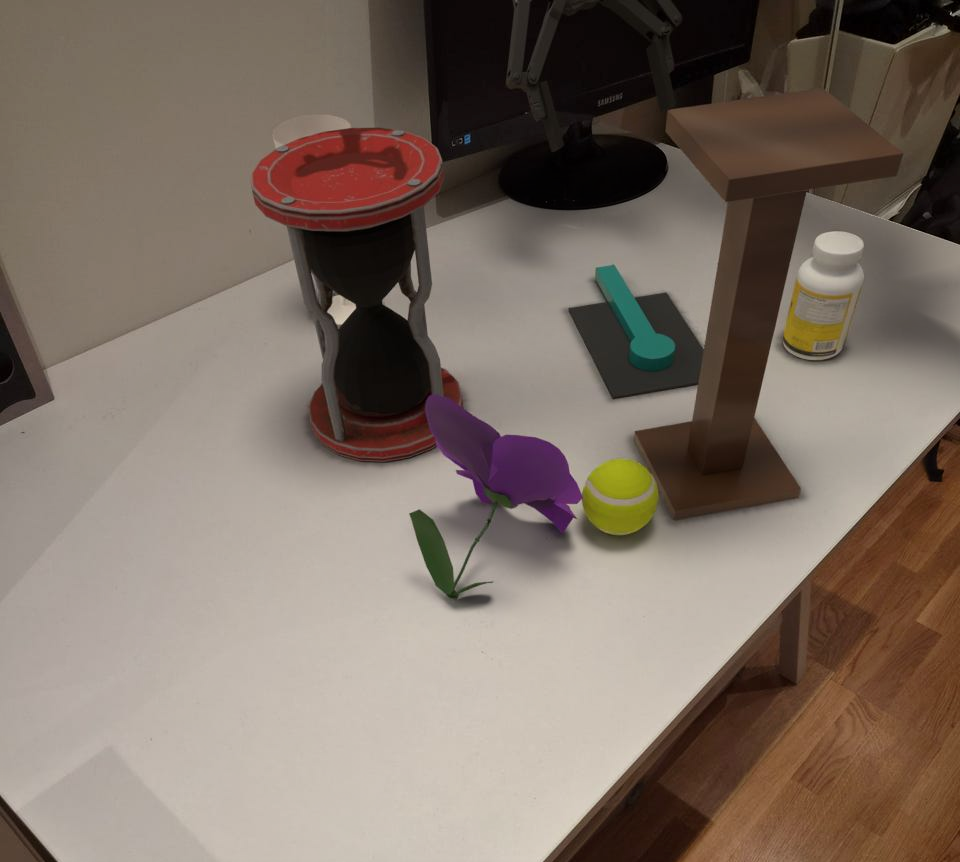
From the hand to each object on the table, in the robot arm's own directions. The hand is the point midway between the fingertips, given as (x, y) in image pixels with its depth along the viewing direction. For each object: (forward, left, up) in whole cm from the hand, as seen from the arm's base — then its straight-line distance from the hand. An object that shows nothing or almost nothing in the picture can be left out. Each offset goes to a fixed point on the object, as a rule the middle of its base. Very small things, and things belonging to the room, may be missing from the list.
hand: (613, 129), depth 98 cm
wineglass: (+28, +19, -15) cm, 37 cm away
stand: (-19, +37, -15) cm, 44 cm away
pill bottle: (-26, +14, -15) cm, 33 cm away
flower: (-2, +54, -15) cm, 56 cm away
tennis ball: (-12, +47, -15) cm, 51 cm away
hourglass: (+15, +37, -15) cm, 43 cm away
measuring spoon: (-6, +14, -15) cm, 21 cm away
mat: (-8, +18, -15) cm, 25 cm away
